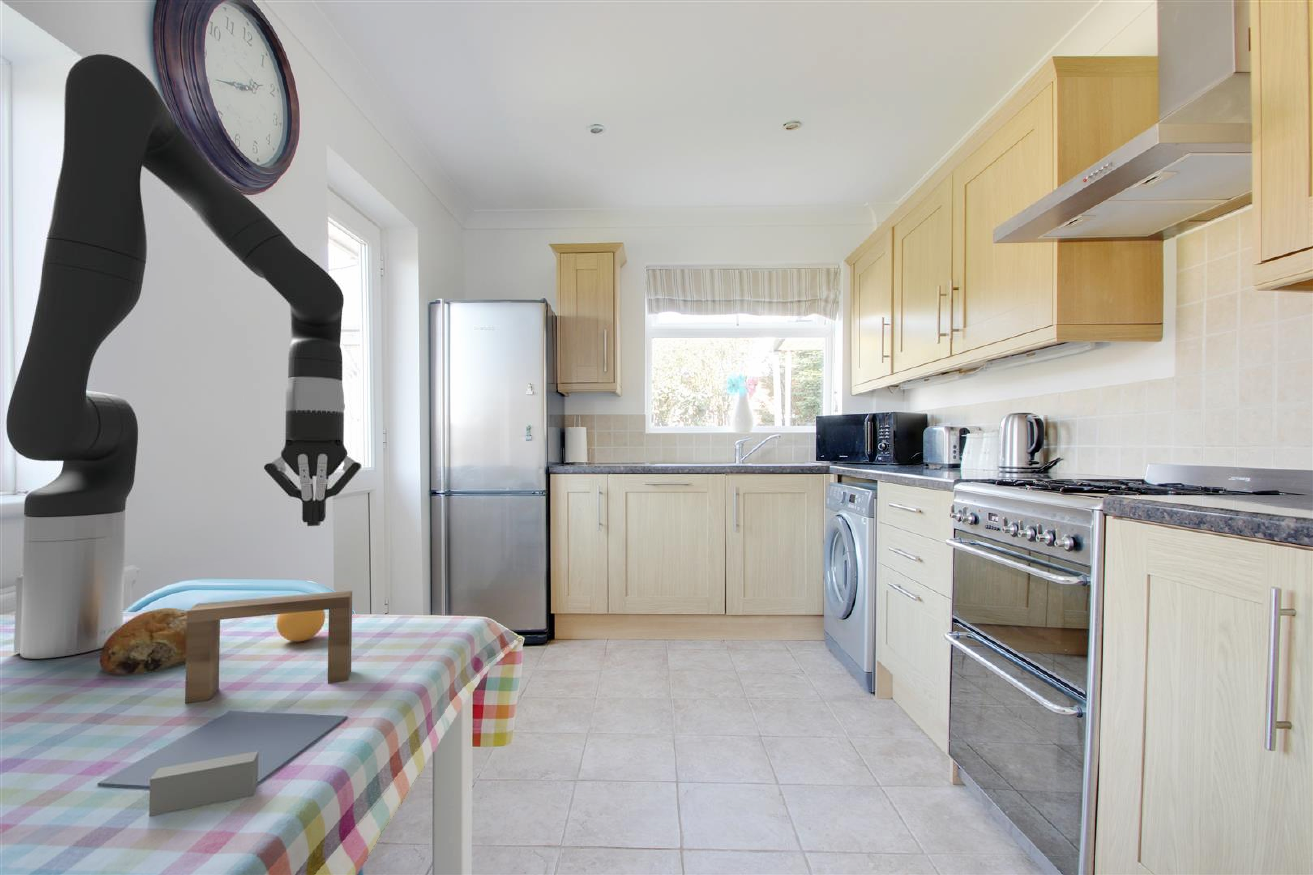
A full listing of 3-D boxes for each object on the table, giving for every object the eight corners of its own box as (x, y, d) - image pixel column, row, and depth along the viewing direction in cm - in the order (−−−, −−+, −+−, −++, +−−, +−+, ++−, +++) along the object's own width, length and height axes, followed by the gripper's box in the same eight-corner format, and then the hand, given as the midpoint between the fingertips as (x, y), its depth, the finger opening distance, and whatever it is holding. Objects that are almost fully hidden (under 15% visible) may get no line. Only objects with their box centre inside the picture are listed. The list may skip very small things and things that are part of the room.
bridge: (195, 691, 60) (197, 603, 60) (351, 670, 66) (352, 590, 66) (185, 703, 57) (186, 610, 57) (348, 680, 63) (349, 596, 63)
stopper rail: (158, 803, 41) (158, 768, 41) (257, 784, 43) (258, 750, 43) (149, 815, 39) (150, 779, 39) (252, 795, 42) (253, 760, 42)
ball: (265, 646, 74) (266, 604, 74) (296, 633, 79) (296, 593, 79) (306, 648, 73) (306, 605, 73) (333, 634, 79) (334, 594, 79)
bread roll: (217, 682, 72) (240, 616, 75) (144, 675, 62) (175, 601, 66) (146, 678, 73) (172, 614, 76) (64, 672, 63) (99, 599, 67)
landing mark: (97, 785, 43) (97, 782, 43) (229, 712, 55) (229, 710, 55) (245, 793, 42) (245, 790, 42) (347, 717, 54) (347, 715, 54)
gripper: (256, 406, 79) (254, 531, 79) (362, 409, 85) (361, 526, 84) (269, 410, 86) (267, 524, 86) (366, 412, 92) (365, 520, 91)
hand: (314, 525), depth 85 cm, fingers closed
